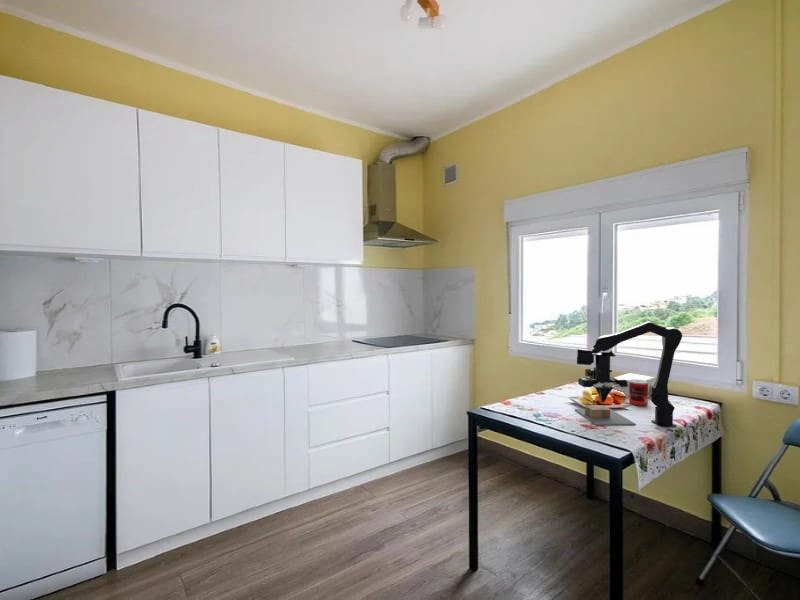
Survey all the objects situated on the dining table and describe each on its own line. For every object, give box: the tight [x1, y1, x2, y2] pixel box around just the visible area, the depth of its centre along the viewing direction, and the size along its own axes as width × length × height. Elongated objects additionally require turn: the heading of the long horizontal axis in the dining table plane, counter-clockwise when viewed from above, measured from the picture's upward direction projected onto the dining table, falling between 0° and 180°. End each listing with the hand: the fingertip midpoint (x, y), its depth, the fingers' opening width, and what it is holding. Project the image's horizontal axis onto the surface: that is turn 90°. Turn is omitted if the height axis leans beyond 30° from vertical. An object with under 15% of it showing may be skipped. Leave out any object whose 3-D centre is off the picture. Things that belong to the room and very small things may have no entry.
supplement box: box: [613, 372, 656, 399], centre depth 209 cm, size 17×13×9 cm
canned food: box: [628, 379, 649, 407], centre depth 193 cm, size 8×8×11 cm
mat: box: [574, 408, 637, 426], centre depth 174 cm, size 20×16×1 cm
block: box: [584, 404, 611, 418], centre depth 174 cm, size 6×4×8 cm
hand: (602, 402), depth 174 cm, fingers closed
